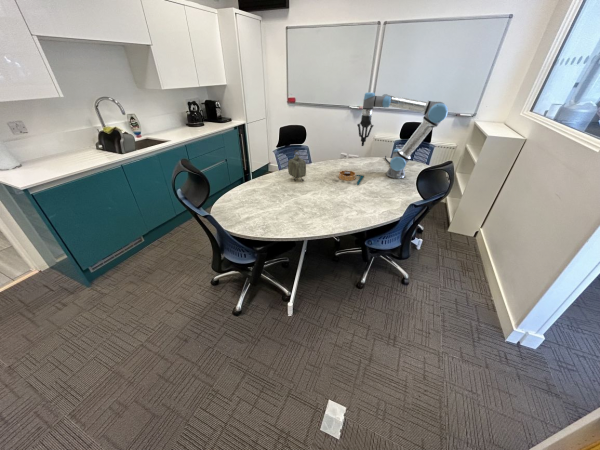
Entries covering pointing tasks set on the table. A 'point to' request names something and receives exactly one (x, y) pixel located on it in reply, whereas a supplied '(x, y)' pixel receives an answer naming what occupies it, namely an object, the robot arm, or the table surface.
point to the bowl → (347, 178)
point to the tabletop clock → (297, 167)
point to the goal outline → (359, 179)
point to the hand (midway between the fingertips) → (362, 145)
